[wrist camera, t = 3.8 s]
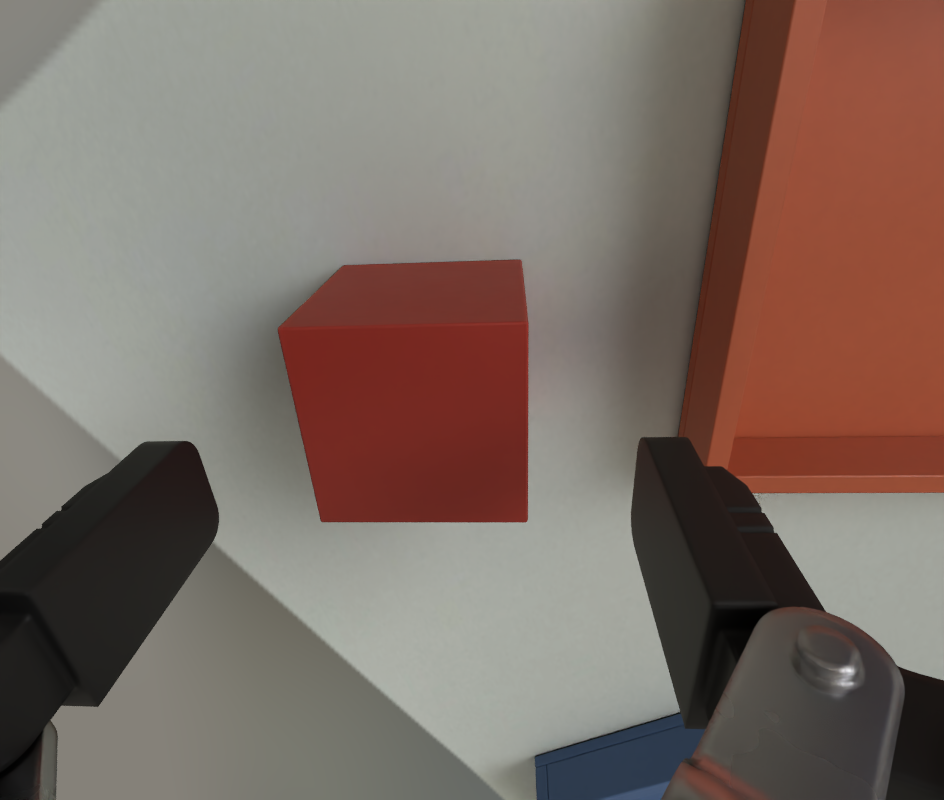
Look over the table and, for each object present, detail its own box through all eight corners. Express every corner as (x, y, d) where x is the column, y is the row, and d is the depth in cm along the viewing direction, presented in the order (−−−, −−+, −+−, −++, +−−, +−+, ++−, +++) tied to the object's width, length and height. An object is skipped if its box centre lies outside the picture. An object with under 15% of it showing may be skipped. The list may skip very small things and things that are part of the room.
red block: (366, 419, 18) (320, 523, 13) (342, 264, 15) (276, 328, 11) (522, 417, 17) (528, 523, 13) (521, 259, 15) (528, 321, 10)
